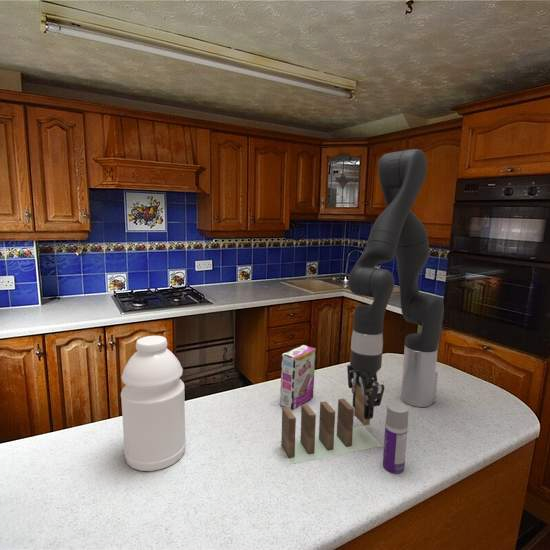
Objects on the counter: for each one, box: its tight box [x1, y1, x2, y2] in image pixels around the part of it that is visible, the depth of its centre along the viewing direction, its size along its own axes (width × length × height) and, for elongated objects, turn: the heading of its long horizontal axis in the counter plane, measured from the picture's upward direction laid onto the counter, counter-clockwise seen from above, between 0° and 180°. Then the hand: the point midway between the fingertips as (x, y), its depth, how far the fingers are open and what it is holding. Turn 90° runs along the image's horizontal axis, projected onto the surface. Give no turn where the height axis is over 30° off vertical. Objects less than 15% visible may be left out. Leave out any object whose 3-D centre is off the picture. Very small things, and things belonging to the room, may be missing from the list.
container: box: [382, 401, 409, 475], centre depth 83 cm, size 5×5×15 cm
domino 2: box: [299, 403, 317, 455], centre depth 90 cm, size 2×5×10 cm, turn 18°
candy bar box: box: [279, 344, 317, 411], centre depth 112 cm, size 11×5×16 cm, turn 141°
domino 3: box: [318, 400, 336, 451], centre depth 91 cm, size 2×5×10 cm, turn 18°
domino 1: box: [280, 407, 297, 458], centre depth 88 cm, size 2×5×10 cm, turn 18°
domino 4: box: [336, 398, 355, 447], centre depth 93 cm, size 2×5×10 cm, turn 18°
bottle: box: [120, 335, 187, 472], centre depth 86 cm, size 14×14×28 cm
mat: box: [277, 425, 382, 465], centre depth 93 cm, size 24×9×1 cm, turn 108°
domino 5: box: [353, 385, 372, 426], centre depth 94 cm, size 2×5×10 cm, turn 18°
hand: (362, 412), depth 94 cm, fingers closed on domino 5, 5 cm apart
